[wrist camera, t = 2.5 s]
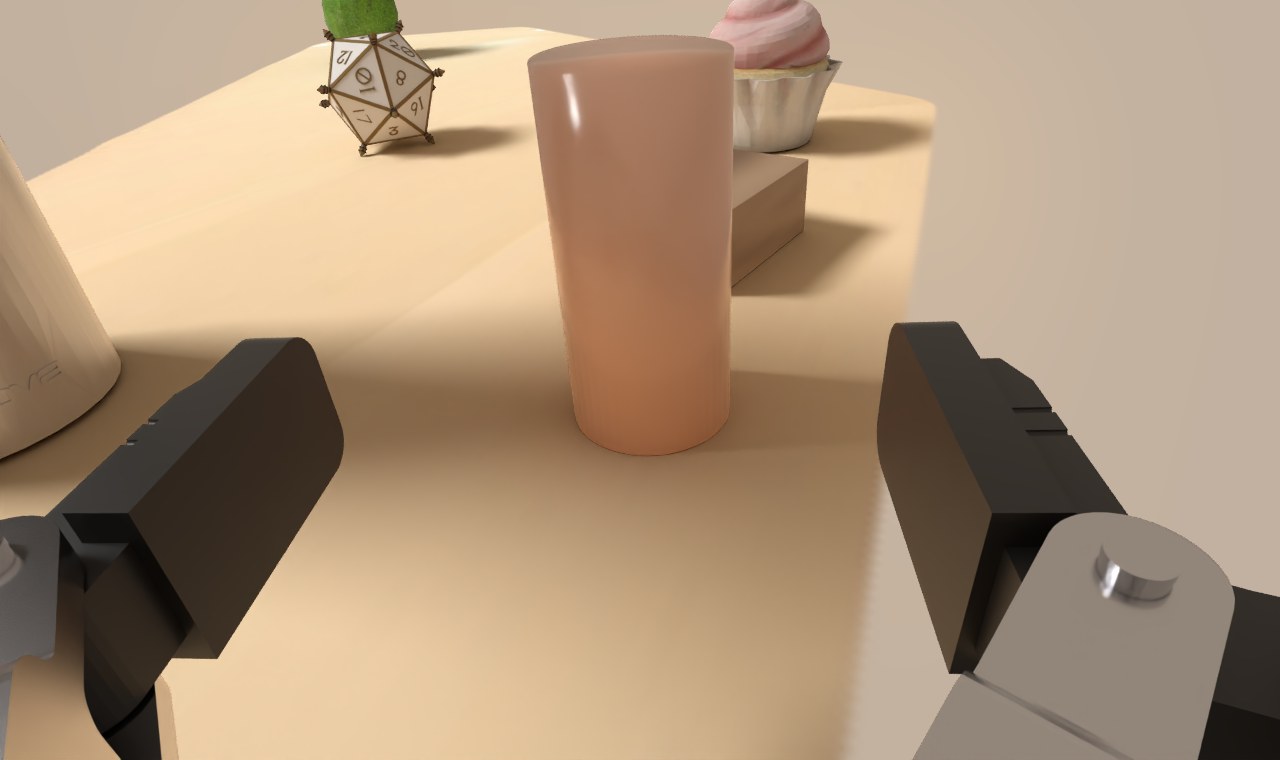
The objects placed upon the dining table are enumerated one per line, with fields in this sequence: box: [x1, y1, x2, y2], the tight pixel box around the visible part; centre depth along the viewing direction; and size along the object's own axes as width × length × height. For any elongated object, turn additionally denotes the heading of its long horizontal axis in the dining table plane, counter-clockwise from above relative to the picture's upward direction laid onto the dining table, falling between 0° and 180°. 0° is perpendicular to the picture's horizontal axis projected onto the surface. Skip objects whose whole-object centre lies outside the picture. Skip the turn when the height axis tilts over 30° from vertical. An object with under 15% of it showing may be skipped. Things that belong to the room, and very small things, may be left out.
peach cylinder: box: [527, 35, 734, 456], centre depth 21 cm, size 5×5×11 cm
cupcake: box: [710, 0, 842, 153], centre depth 46 cm, size 9×9×10 cm
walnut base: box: [731, 149, 808, 287], centre depth 34 cm, size 8×8×4 cm
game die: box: [317, 20, 445, 157], centre depth 51 cm, size 9×8×10 cm
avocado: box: [322, 0, 398, 38], centre depth 82 cm, size 8×8×12 cm
